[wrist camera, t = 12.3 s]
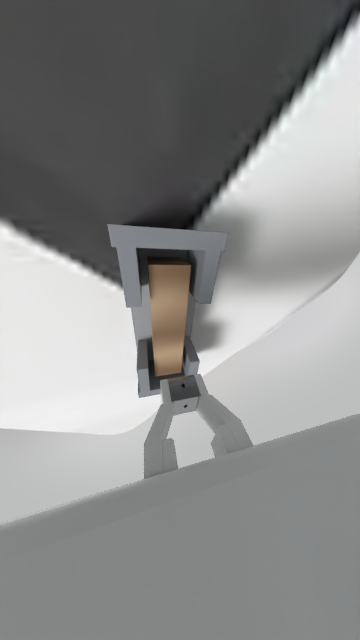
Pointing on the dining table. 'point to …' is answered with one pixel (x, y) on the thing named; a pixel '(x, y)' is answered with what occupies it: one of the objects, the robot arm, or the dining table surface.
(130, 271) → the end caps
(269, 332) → the dining table surface
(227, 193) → the dining table surface
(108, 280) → the dining table surface
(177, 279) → the slat
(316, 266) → the dining table surface
